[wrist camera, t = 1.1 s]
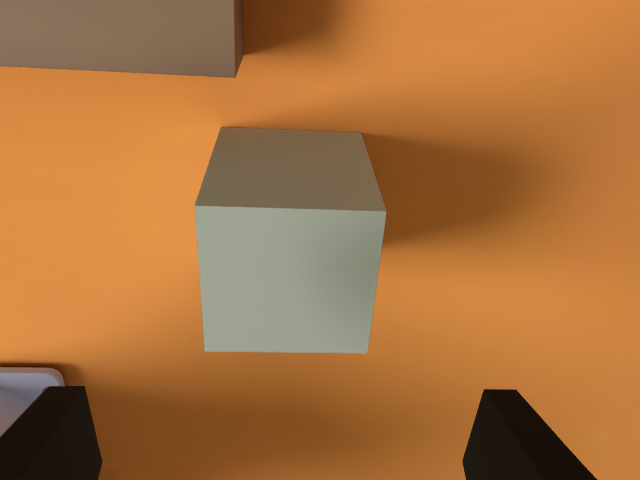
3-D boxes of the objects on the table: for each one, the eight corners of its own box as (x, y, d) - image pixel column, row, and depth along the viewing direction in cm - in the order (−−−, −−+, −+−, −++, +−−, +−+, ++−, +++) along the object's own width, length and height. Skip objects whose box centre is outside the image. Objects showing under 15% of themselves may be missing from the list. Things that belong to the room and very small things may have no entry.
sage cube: (349, 249, 20) (367, 353, 15) (225, 246, 19) (204, 351, 15) (360, 132, 17) (386, 211, 13) (221, 126, 17) (194, 205, 12)
